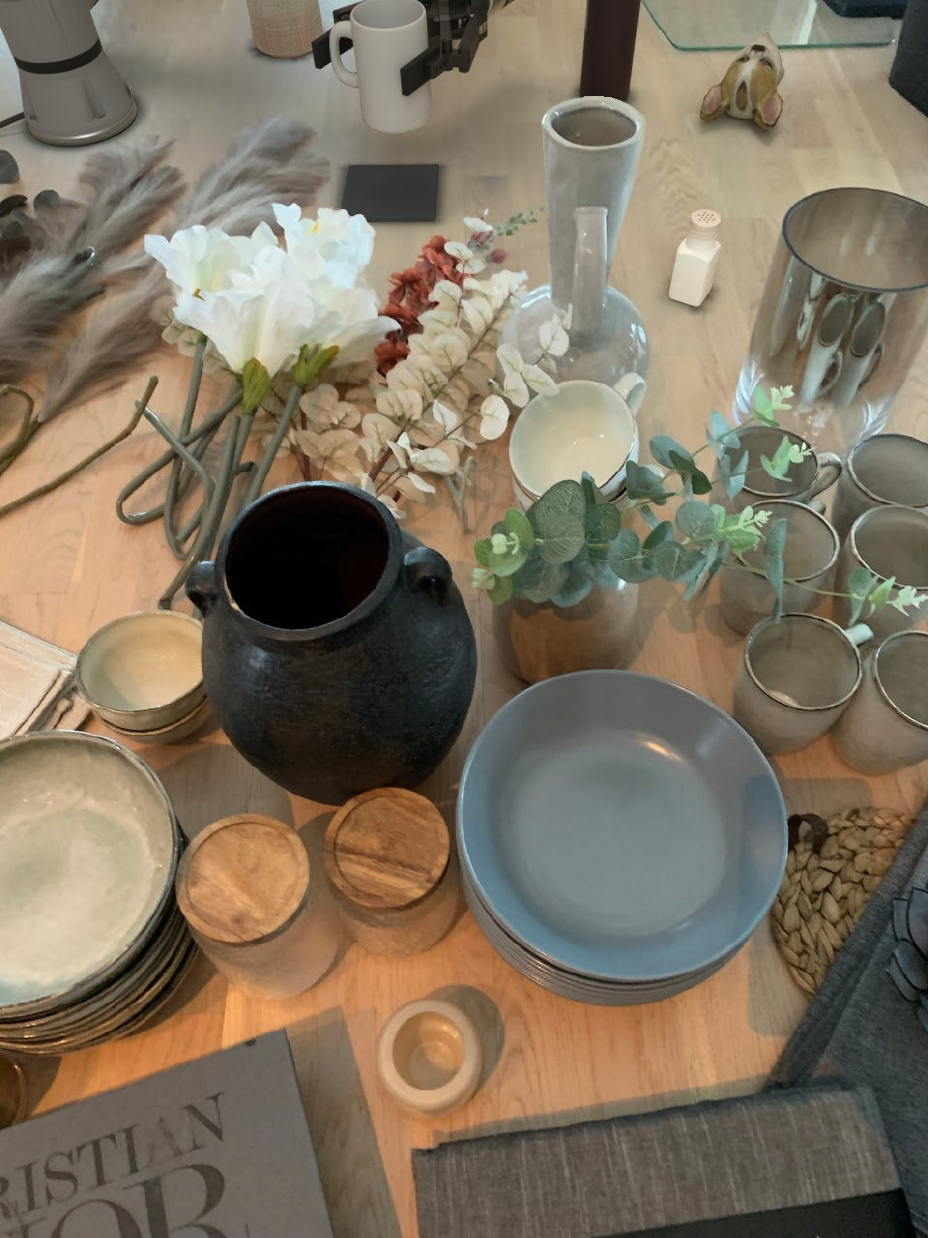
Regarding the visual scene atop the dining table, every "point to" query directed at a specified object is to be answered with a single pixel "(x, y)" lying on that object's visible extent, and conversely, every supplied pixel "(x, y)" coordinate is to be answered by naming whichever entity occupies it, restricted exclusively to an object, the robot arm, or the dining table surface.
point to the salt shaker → (696, 259)
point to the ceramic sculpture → (749, 86)
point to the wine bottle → (609, 47)
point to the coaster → (392, 192)
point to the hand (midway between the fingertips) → (358, 68)
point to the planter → (285, 26)
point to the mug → (385, 62)
